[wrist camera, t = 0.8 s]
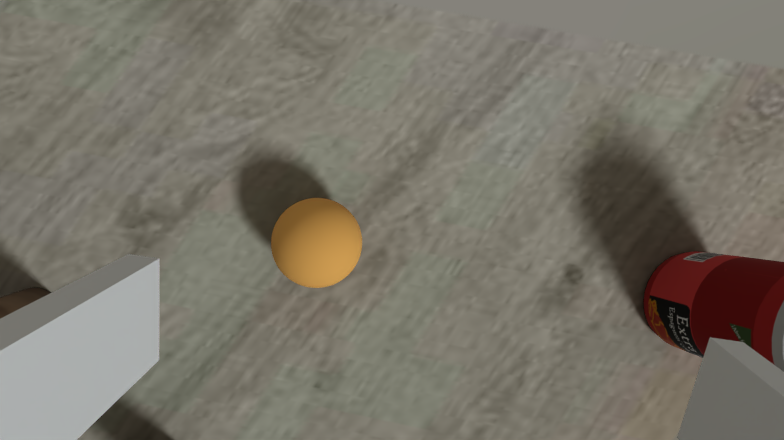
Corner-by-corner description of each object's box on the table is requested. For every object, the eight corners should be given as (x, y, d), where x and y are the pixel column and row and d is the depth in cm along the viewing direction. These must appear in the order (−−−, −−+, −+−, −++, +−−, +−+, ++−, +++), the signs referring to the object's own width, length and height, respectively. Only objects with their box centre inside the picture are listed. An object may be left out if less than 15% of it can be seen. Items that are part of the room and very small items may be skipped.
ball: (305, 295, 31) (307, 315, 26) (256, 229, 30) (247, 235, 25) (371, 247, 32) (386, 257, 27) (325, 181, 31) (331, 178, 26)
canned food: (622, 305, 36) (760, 351, 26) (682, 229, 37) (840, 241, 26) (682, 364, 38) (836, 431, 27) (738, 289, 39) (910, 324, 28)
